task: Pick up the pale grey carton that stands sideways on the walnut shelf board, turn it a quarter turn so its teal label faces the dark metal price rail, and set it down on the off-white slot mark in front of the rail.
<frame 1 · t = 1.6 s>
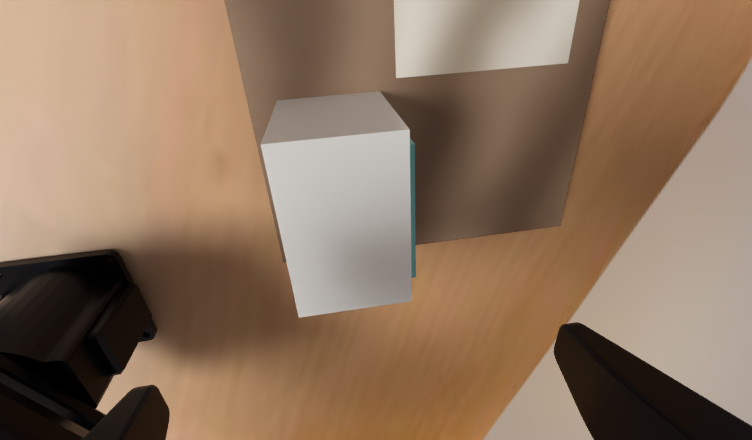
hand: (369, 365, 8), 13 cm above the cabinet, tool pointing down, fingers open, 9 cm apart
carton: (337, 169, 18), point 1 cm above the cabinet, touching shelf board
shelf board: (420, 69, 18), on the cabinet
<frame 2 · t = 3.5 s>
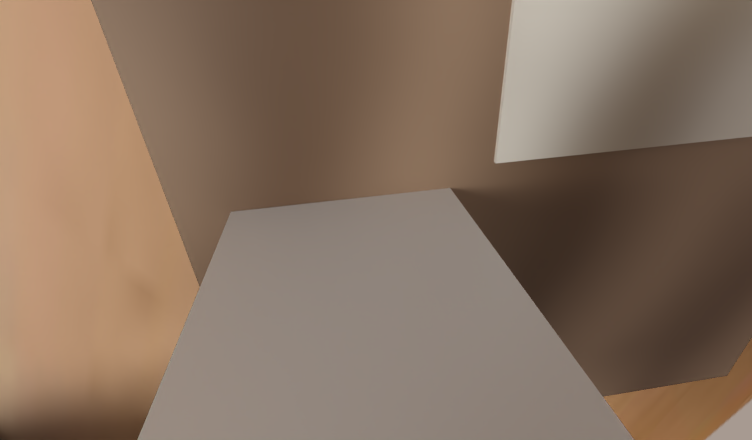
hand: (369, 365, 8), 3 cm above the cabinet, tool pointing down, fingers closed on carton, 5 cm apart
carton: (356, 323, 9), point 2 cm above the cabinet, touching gripper, shelf board
shelf board: (527, 133, 9), on the cabinet
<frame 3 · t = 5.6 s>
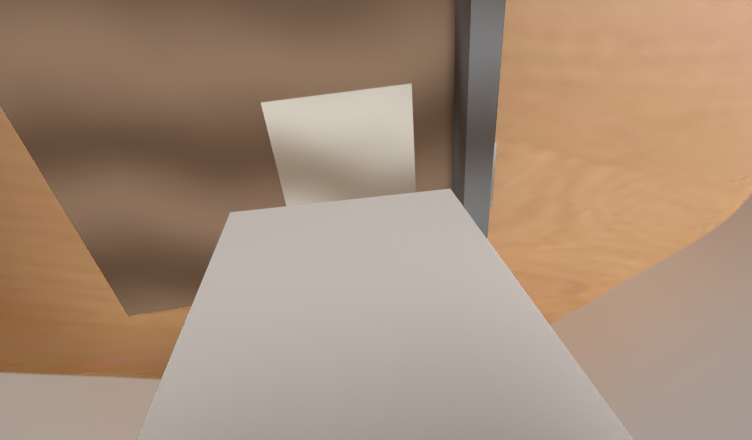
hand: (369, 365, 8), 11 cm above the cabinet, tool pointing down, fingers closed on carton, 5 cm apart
carton: (356, 323, 9), point 10 cm above the cabinet, touching gripper
shelf board: (273, 128, 17), on the cabinet
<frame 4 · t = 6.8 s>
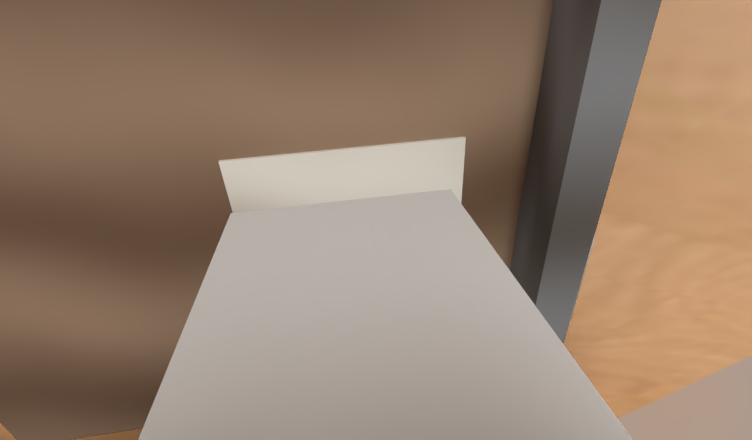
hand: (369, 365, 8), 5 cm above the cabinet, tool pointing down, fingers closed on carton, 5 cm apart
carton: (356, 324, 9), point 3 cm above the cabinet, touching gripper
shelf board: (244, 190, 11), on the cabinet
when the fingers open (4 cm above the cabinet, at t = 7.7 s): carton drops 1 cm, resting on shelf board.
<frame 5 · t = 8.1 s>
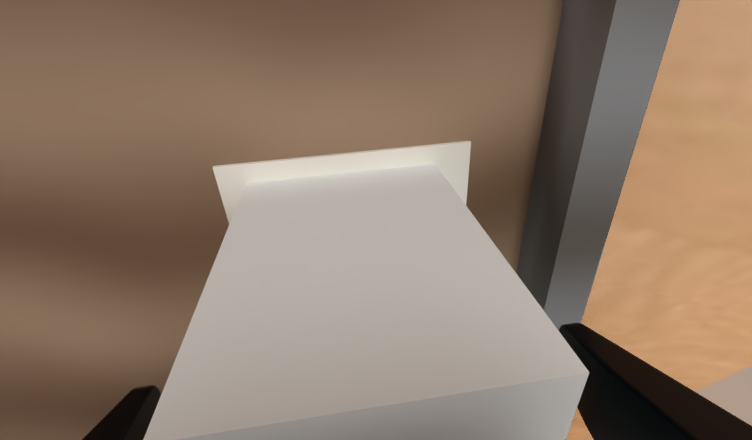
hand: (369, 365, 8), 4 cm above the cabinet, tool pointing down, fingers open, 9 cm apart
carton: (354, 286, 11), point 2 cm above the cabinet, touching shelf board
shelf board: (240, 195, 11), on the cabinet
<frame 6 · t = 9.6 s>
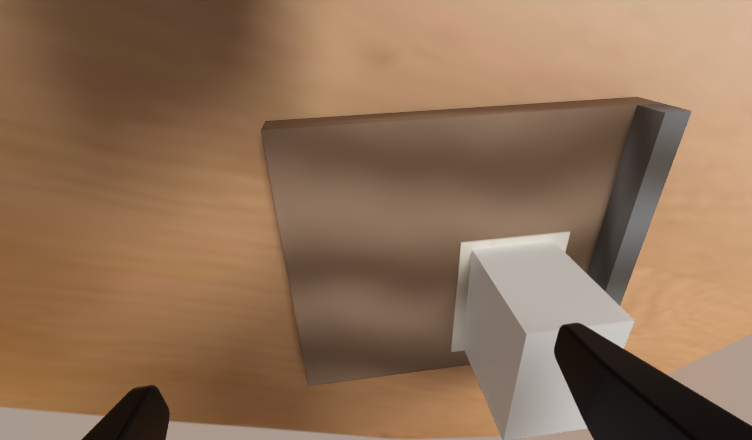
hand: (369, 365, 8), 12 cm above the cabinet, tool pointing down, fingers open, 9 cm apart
carton: (504, 296, 22), point 2 cm above the cabinet, touching shelf board
shelf board: (450, 250, 21), on the cabinet
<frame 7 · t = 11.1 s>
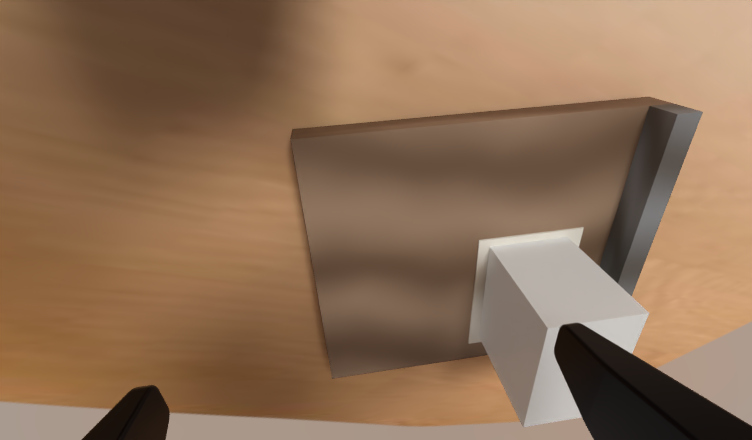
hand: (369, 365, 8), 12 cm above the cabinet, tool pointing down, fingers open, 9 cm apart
carton: (520, 290, 22), point 2 cm above the cabinet, touching shelf board
shelf board: (467, 247, 22), on the cabinet
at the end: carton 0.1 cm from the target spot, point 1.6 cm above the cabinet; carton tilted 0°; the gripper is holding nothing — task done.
